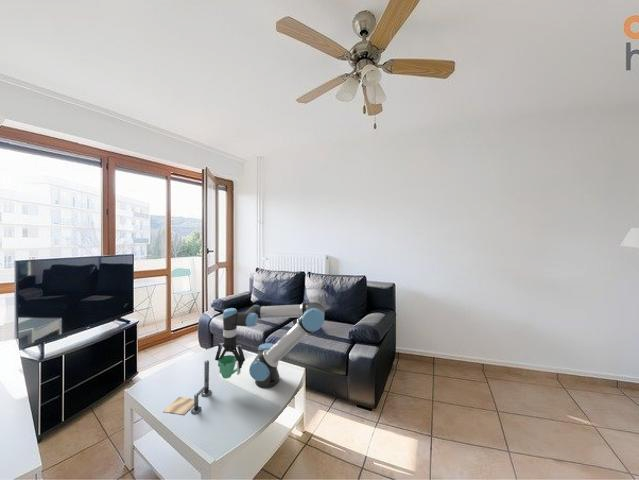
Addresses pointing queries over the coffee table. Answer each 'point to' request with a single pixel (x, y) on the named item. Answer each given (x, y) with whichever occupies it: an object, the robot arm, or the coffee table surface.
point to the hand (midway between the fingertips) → (230, 372)
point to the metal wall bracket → (205, 388)
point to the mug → (227, 366)
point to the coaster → (180, 406)
